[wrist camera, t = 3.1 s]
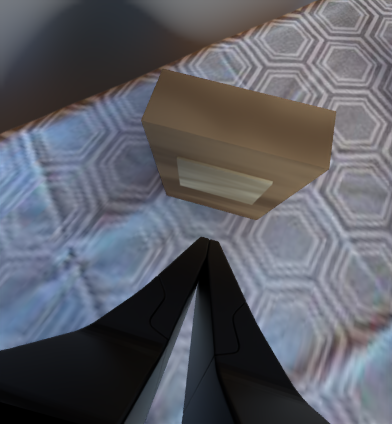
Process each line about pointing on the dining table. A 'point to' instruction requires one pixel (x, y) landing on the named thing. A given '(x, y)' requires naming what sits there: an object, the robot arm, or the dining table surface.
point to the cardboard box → (234, 144)
